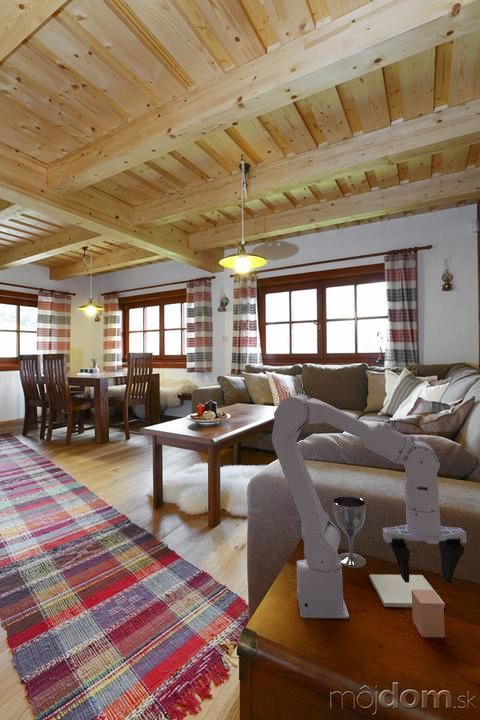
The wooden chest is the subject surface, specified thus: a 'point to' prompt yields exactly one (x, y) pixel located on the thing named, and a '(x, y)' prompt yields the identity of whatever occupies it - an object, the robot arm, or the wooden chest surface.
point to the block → (428, 613)
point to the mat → (399, 589)
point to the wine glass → (350, 525)
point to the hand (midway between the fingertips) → (426, 579)
